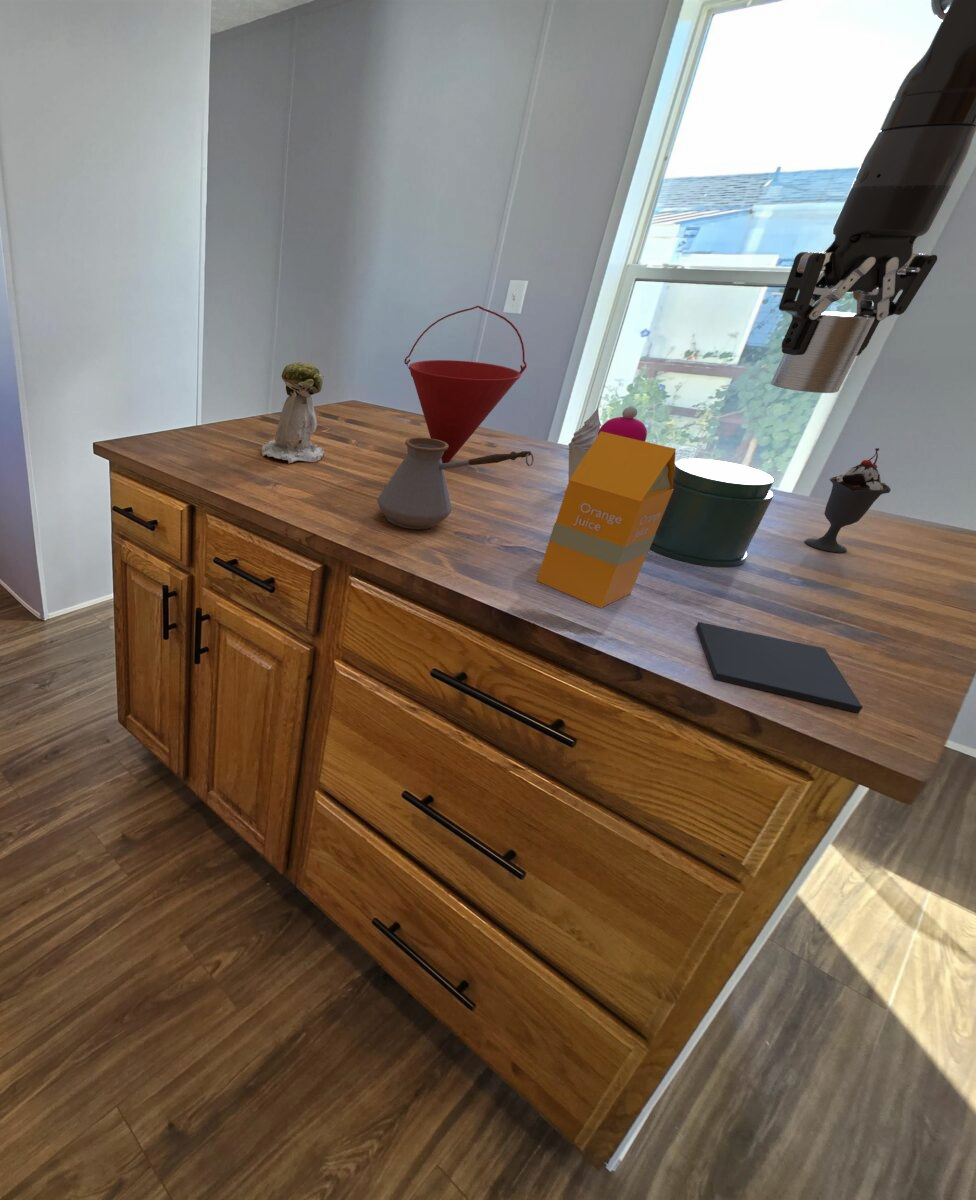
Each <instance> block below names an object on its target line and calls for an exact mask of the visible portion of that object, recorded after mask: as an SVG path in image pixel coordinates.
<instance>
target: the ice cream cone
mask: <svg viewBox="0 0 976 1200" xmlns="http://www.w3.org/2000/svg"><path fill="white" fill-rule="evenodd" d="M583 423H584V424H583V425H582V427H580V428H579V429H578V430H577V431H575V432H574V433H573V437H572V438H571V440H570V442H569V443H568V483H569V480H570V478H571V476H572V475H573V473H574V472H575V470H576V469H577V467H578V466H579V464H580V463H581V461H582V460H583V458H584V457H585V455H586V453H587V452H588V450H589V449H590V447H591V446H592V444H593V443H594V441H595V440H596V438H597V436H598V432H599V430H600V428H601V427H602V424H601V420H600V414H599V407H597V408H596V409H595V411H594V412H593V413H592V414H591V415H590V417H589V418H588V419H587V420H585V421H584V422H583ZM568 483H567V484H568Z"/></svg>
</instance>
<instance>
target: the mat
mask: <svg viewBox="0 0 976 1200" xmlns="http://www.w3.org/2000/svg"><path fill="white" fill-rule="evenodd" d="M695 629H696V631H697V635H698V637H699V640H700V642H701V645H702V648H703V651H704V654H705V657H706V659H707V662H708V665H709V669H710V671H711V674H712V677H713V679H714V680H717V681H722V682H725V683H728V684H729V683H730V684H734V685H737V686H742V687H746V688H750V689H755V690H760V691H762V692H767V693H772V694H776V695H780V696H784V697H789V698H794V699H796V700H801V701H806V702H810V703H814V704H819V705H823V706H826V707H831V708H835V709H839V710H843V711H849V712H853V713H856V712H857V714H860V712H861V710H863V705H862V703H861V702H860V700H859V699H858V697H857V696H856V695H855V693H854V692H853V690H852V688H851V687H850V686H849V685H850V684H848V682H847V681H846V679H845V678H844V676H843V674H842V673H841V671H840V670H839V668H838V667H837V665H836V663H835V662H834V660H833V659H832V657H831V655H830V654H829V652H828V651H827V650H826V648H825V647H820V646H816V645H811V644H807V643H802V642H797V641H796V642H795V641H792V640H787V639H782V638H777V637H772V636H767V635H763V634H757V633H754V632H749V631H745V630H741V629H734V628H730V627H725V626H720V625H716V624H711V623H707V622H701V621H698V622H697V623H696V626H695Z"/></svg>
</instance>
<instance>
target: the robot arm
mask: <svg viewBox="0 0 976 1200" xmlns="http://www.w3.org/2000/svg"><path fill="white" fill-rule="evenodd" d="M930 7H931V11H932V14H933V16H934V17H935V18H936V19H937V20H938V21H939V22H940V24H939V27H938V28H937V30H936V33H935V35H934V37H933V39H932V41H931V42H930V45H929V47H928V48H927V50H926V52H925V53H924V55H923V56H922V57H921V58H920V59H919V61H917V62H916V64H915V65H914V66H913V67H912V68H911V69H910V70H909V71H908V73H906V76H904V79H903V81H902V82H901V84H900V85H899V87H898V90H897V92H896V93H895V95H894V97H893V100H892V102H891V104H890V107H889V109H888V110H887V113H886V115H885V118H884V121H883V122H882V124H881V127H880V129H879V132H878V133H877V136H876V137H875V139H874V141H873V142H872V144H871V146H870V148H869V149H868V150H867V153H866V155H865V157H864V158H863V160H862V162H861V164H860V167H859V168H858V171H857V173H856V176H855V178H854V180H853V183H852V185H851V187H850V189H849V191H848V194H847V196H846V197H845V200H844V202H843V205H842V207H841V209H840V212H839V213H838V216H837V218H836V220H835V222H834V225H833V227H832V230H831V232H832V234H833V235H834V239H833V241H832V243H831V244H830V245H829V246H828V247H827V248H826V250H825V251H819V252H815V251H814V252H813V251H812V252H811V251H800V252H799V253H797V254H796V256H795V257H794V259H793V263H792V265H791V269H790V271H789V275H788V278H787V280H786V283H785V287H784V290H783V292H782V296H781V299H780V302H779V304H778V310H779V311H780V312H785V313H787V314H789V315H791V322H790V324H789V326H788V328H787V330H786V333H785V335H784V338H783V340H782V341H781V347H780V348H781V352H782V354H784V353H785V354H790V355H801V354H803V353H804V351H805V349H806V347H807V344H808V342H809V340H810V338H811V336H812V334H813V331H814V329H815V327H816V325H817V323H818V321H816V320H815V319H817V318H818V317H819V316H820V315H821V314H822V313H823V312H824V311H825V312H826V310H827V309H828V308H829V307H830V306H831V305H832V304H833V303H835V302H838V301H840V300H841V299H842V298H843V296H844V295H846V293H852V297H853V299H854V300H855V301H856V314H864V315H870V316H874V317H875V319H874V321H873V323H872V325H871V327H870V329H869V331H868V333H867V335H866V337H865V339H864V341H863V343H862V345H861V347H860V349H859V351H858V353H857V355H856V357H858V356H859V355H861V354H862V353H863V351H865V349H866V348H867V347H868V345H869V343H870V341H871V340H872V338H873V335H874V334H875V331H876V329H877V327H878V325H880V322H881V321H885V319H886V318H889V317H891V316H894V315H895V316H900V315H903V314H905V312H906V311H907V310H908V307H909V306H910V304H911V303H912V301H913V300H914V299H915V297H916V296H917V293H918V292H919V289H920V288H921V287H922V285H923V284H924V282H925V280H926V278H927V277H928V275H929V274H930V272H932V269H933V268H934V266H935V265H936V263H937V261H938V255H937V254H928V253H913V251H914V244H915V241H916V240H917V239H918V238H919V237H922V236H925V235H926V234H927V233H928V232H929V231H930V229H931V228H932V225H933V223H934V222H935V219H936V218H937V215H938V213H939V211H940V209H941V207H942V205H943V204H944V202H945V200H946V197H947V196H948V194H949V192H950V189H951V188H952V186H953V184H954V182H955V179H956V178H957V176H958V174H959V172H960V170H961V168H962V166H963V164H964V162H965V160H966V158H967V156H968V154H969V150H970V148H971V146H972V142H973V139H974V136H975V134H976V0H930ZM901 291H902V292H901ZM900 292H901V293H900ZM899 293H900V295H899V296H898V294H899ZM897 296H898V298H897V300H896V301H894V300H895V299H896V297H897Z"/></svg>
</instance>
